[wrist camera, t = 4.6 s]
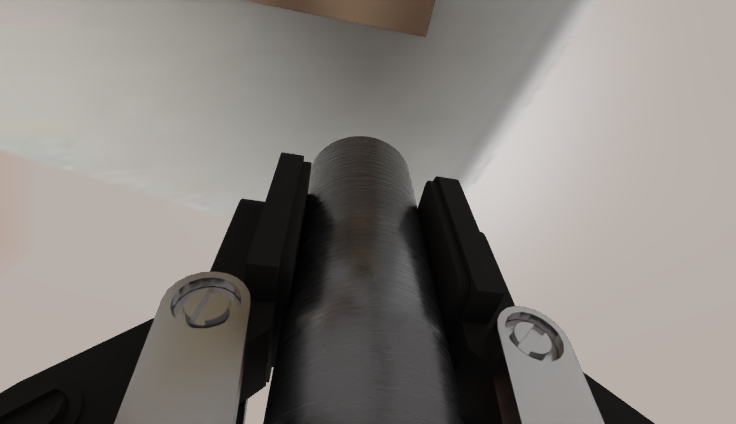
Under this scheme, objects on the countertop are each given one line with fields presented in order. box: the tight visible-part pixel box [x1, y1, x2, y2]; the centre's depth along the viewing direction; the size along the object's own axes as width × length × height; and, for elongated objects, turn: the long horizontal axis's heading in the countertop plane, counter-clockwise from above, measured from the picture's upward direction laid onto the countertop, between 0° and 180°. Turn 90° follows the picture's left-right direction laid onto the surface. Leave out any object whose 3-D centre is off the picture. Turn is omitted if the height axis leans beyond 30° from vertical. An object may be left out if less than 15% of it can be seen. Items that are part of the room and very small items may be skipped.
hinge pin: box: [263, 136, 465, 424], centre depth 8 cm, size 4×4×10 cm
